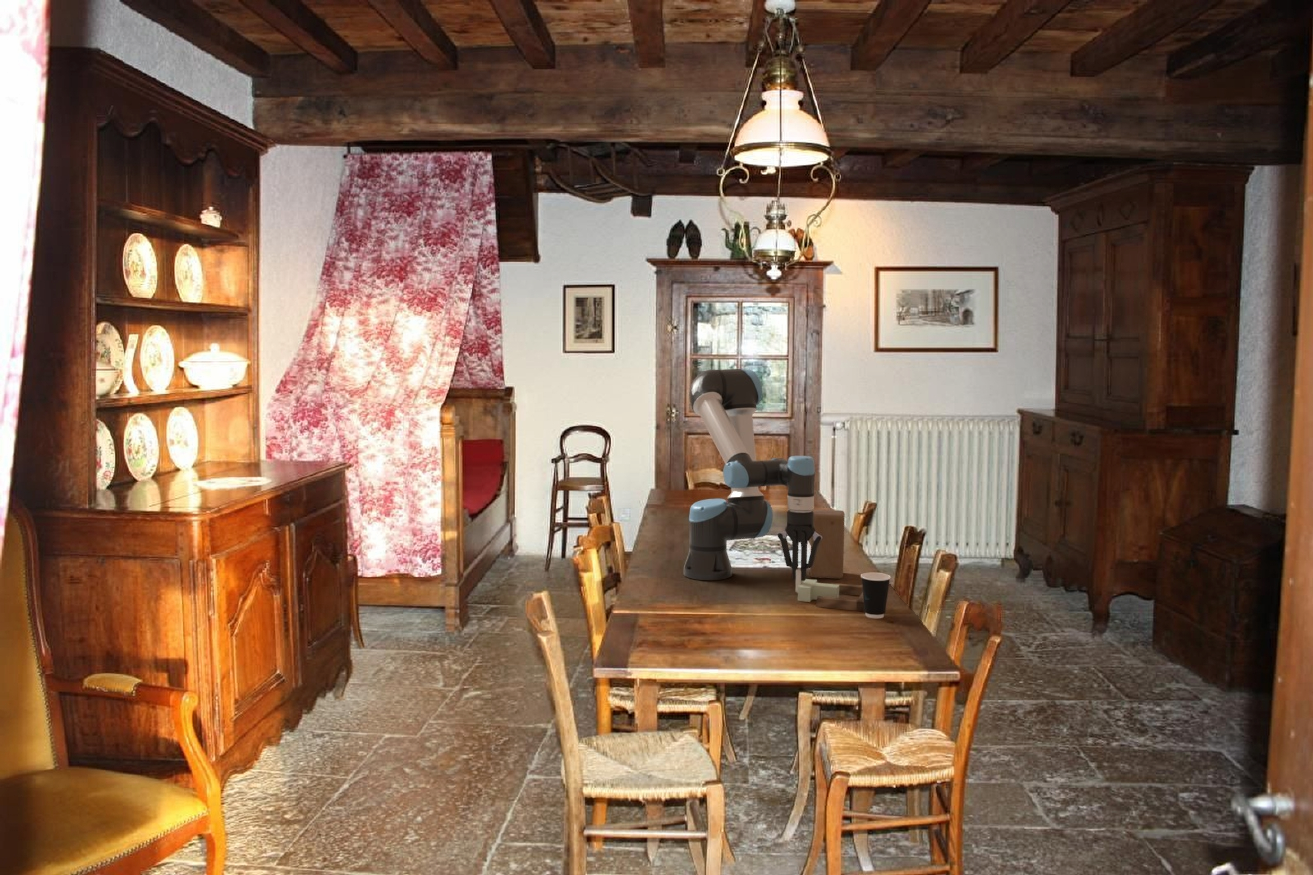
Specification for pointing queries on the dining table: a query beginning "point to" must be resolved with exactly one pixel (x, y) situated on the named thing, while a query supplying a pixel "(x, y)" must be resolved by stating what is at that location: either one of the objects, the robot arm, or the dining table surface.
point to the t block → (816, 590)
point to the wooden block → (829, 544)
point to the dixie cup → (875, 593)
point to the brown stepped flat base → (842, 602)
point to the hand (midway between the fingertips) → (798, 591)
